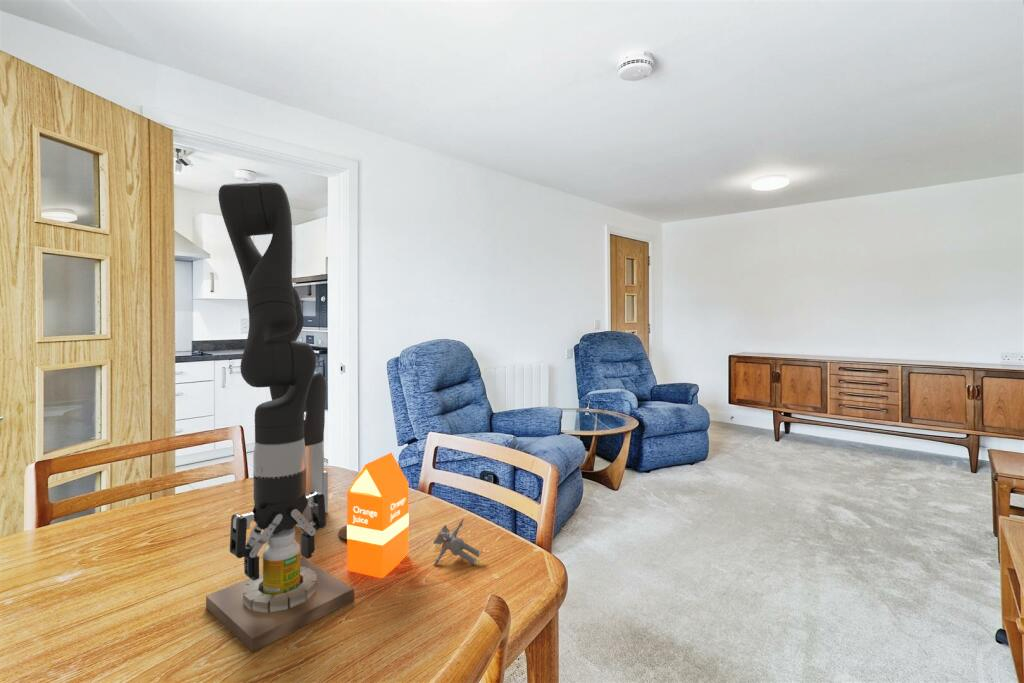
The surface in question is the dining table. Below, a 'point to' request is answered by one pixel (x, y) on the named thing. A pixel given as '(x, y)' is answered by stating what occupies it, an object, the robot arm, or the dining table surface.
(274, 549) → the supplement bottle
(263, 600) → the stone ring base
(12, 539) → the dining table surface
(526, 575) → the dining table surface
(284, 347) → the robot arm
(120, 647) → the dining table surface
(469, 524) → the dining table surface
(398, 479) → the orange juice
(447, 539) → the grey plastic figure
